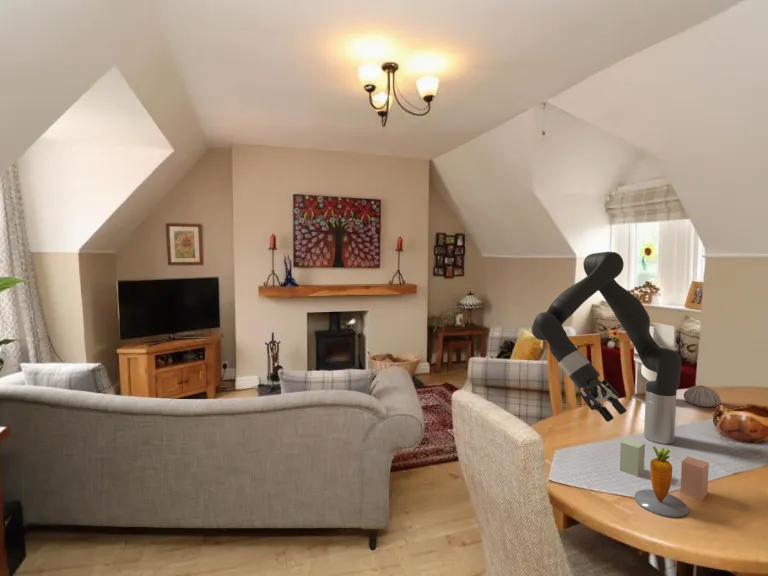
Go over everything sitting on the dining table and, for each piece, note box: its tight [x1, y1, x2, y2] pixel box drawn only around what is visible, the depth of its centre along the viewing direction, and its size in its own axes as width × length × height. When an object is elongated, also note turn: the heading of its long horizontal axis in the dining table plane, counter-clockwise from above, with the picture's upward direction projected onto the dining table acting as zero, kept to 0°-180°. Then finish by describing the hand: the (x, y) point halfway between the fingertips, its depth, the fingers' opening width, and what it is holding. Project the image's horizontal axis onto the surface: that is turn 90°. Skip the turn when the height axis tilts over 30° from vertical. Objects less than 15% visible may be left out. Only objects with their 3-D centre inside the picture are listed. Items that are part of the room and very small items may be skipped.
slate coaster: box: [634, 489, 689, 519], centre depth 114 cm, size 12×12×1 cm
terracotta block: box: [679, 455, 710, 501], centre depth 118 cm, size 5×5×9 cm
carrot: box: [649, 446, 673, 502], centre depth 113 cm, size 5×5×15 cm
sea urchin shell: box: [683, 385, 722, 408], centre depth 189 cm, size 13×14×8 cm
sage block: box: [619, 437, 646, 477], centre depth 131 cm, size 5×5×9 cm
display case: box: [632, 322, 677, 405], centre depth 191 cm, size 11×11×35 cm
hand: (617, 416), depth 121 cm, fingers open, 8 cm apart
